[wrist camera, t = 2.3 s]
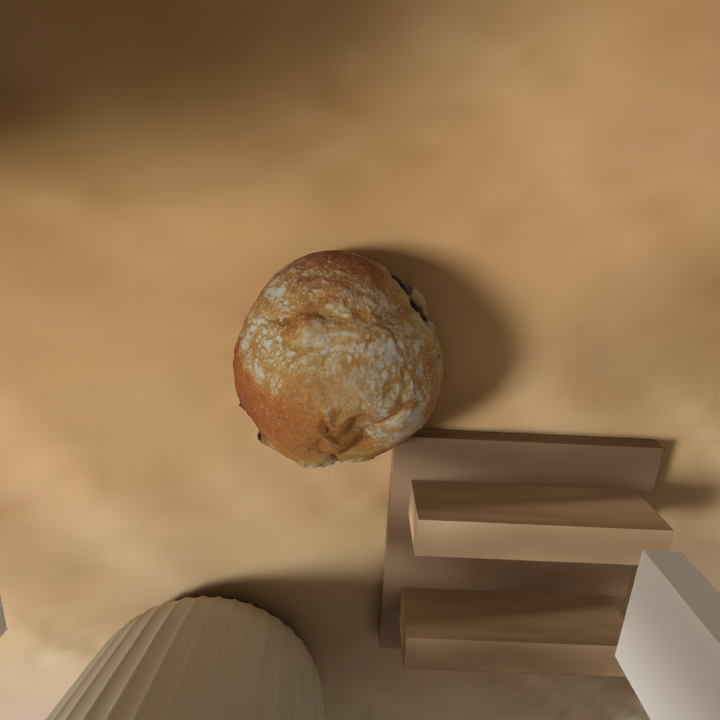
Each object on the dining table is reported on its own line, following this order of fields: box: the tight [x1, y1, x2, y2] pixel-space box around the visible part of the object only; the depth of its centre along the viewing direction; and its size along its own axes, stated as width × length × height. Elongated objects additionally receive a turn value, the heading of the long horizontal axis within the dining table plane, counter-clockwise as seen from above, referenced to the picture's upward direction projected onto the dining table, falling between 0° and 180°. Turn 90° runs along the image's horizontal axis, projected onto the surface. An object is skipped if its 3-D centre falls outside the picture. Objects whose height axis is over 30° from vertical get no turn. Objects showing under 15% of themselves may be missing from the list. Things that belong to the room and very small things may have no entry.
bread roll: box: [233, 250, 446, 468], centre depth 23 cm, size 10×10×8 cm
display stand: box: [379, 429, 674, 677], centre depth 27 cm, size 14×14×4 cm
